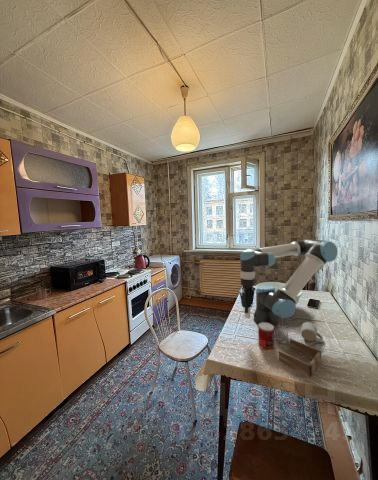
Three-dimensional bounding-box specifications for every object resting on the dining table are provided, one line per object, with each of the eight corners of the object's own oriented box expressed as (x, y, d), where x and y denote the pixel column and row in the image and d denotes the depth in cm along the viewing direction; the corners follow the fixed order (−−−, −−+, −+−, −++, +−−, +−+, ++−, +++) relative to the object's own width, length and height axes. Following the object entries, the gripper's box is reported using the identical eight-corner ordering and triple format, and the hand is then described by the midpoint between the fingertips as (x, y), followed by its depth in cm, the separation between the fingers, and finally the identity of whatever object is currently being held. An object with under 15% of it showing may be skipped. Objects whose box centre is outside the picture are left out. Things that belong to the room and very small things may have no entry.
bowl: (309, 318, 135) (310, 297, 133) (259, 317, 140) (259, 296, 138) (293, 299, 166) (293, 281, 165) (252, 298, 172) (252, 281, 170)
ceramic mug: (300, 340, 113) (301, 327, 112) (301, 332, 120) (302, 320, 119) (323, 346, 107) (324, 332, 106) (322, 337, 114) (323, 325, 113)
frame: (290, 347, 107) (290, 338, 106) (321, 360, 96) (321, 351, 96) (278, 360, 98) (278, 351, 97) (310, 377, 87) (311, 366, 87)
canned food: (268, 351, 104) (268, 331, 103) (255, 344, 111) (255, 325, 109) (276, 345, 109) (277, 326, 108) (263, 339, 115) (263, 320, 114)
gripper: (248, 274, 121) (248, 311, 124) (235, 279, 112) (235, 319, 115) (259, 276, 115) (259, 316, 118) (246, 282, 107) (246, 324, 109)
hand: (247, 317), depth 117 cm, fingers closed
